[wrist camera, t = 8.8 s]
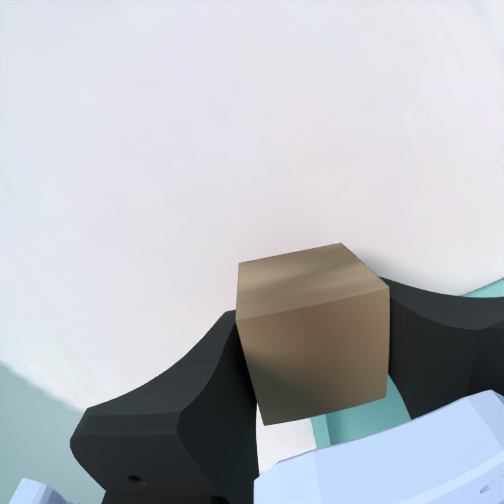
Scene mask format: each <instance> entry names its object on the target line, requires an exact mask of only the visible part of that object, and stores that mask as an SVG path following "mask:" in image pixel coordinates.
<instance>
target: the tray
mask: <svg viewBox="0 0 504 504" xmlns="http://www.w3.org/2000/svg"><path fill="white" fill-rule="evenodd" d="M462 297H504V278H503V279H500V280H498V281H496V282H494V283H491V284H489V285H487V286H484V287H482V288H480V289H477V290H475V291H473V292H470V293H468V294H465V295H463V296H462ZM410 420H411V418H410V416H409V413H408V411H407V409H406V406H405V404H404V402H403V399H402V397H401V395H400V393H399V391H398V390H397V388H396V386H395V384H394V383H393V381H392V380H391V378H390V376H389V375H388V380H387V393H386V398H383V399H380V400H377V401H373V402H370V403H366V404H363V405H359V406H356V407H352V408H348V409H344V410H340V411H336V412H332V413H328V414H324V415H319V416H315V417H311V421H312V426H313V431H314V435H315V440H316V444H317V449H319V448H323V447H327V446H331V445H335V444H339V443H343V442H346V441H350V440H353V439H357V438H360V437H364V436H367V435H370V434H373V433H376V432H379V431H382V430H385V429H388V428H391V427H394V426H397V425H399V424H402V423H405V422H407V421H410Z"/></svg>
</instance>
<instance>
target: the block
mask: <svg viewBox="0 0 504 504" xmlns="http://www.w3.org/2000/svg"><path fill="white" fill-rule="evenodd" d="M235 321H236V325H237V328H238V332H239V336H240V340H241V344H242V348H243V351H244V355H245V359H246V363H247V366H248V370H249V374H250V377H251V381H252V385H253V388H254V392H255V396H256V399H257V403H258V406H259V410H260V413H261V417H262V420H263V424H264V426H266V425H273V424H279V423H284V422H290V421H295V420H300V419H305V418H310V417H315V416H319V415H324V414H328V413H332V412H336V411H340V410H344V409H348V408H352V407H356V406H359V405H363V404H366V403H370V402H373V401H377V400H380V399H383V398H386V393H387V380H388V363H389V335H390V293H389V287H388V286H387V285H386V284H385V283H384V282H383V281H382V280H381V279H380V278H379V277H378V276H377V275H376V274H375V273H374V272H373V271H372V270H370V269H369V268H368V267H367V266H366V265H365V264H364V263H363V262H362V261H361V260H360V259H359V258H357V257H356V256H355V255H354V254H353V253H352V252H351V251H350V250H349V249H348V248H346V247H345V246H344V245H343V244H342V243H337V244H332V245H327V246H322V247H317V248H312V249H307V250H302V251H297V252H292V253H287V254H282V255H277V256H272V257H267V258H262V259H257V260H252V261H247V262H242V263H239V270H238V286H237V302H236V319H235Z"/></svg>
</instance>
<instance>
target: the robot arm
mask: <svg viewBox="0 0 504 504" xmlns="http://www.w3.org/2000/svg"><path fill="white" fill-rule="evenodd" d="M379 278H380V279H381V280H382V281H383V282H384V283H385V284H386V285H387V286H388V287H389V293H390V335H389V363H388V375H389V376H390V378H391V380H392V381H393V383H394V384H395V386H396V388H397V390H398V391H399V393H400V395H401V397H402V399H403V402H404V404H405V406H406V409H407V411H408V413H409V416H410V418H411V420H410V421H407V422H405V423H402V424H399V425H397V426H394V427H391V428H388V429H385V430H382V431H379V432H376V433H373V434H370V435H367V436H364V437H360V438H357V439H353V440H350V441H346V442H343V443H339V444H335V445H331V446H327V447H323V448H319V449H314V450H311V451H308V452H305V453H303V454H300V455H297V456H294V457H291V458H288V459H285V460H282V461H279V462H278V463H276V464H275V465H273V466H272V467H271V468H270V469H269V470H267V471H266V472H265V473H263V474H262V475H261V476H260V477H259V467H258V456H257V442H256V412H257V399H256V396H255V392H254V388H253V385H252V381H251V377H250V374H249V370H248V366H247V363H246V359H245V355H244V351H243V348H242V344H241V340H240V336H239V332H238V328H237V325H236V321H235V319H236V310H232V311H227V312H225V313H224V314H223V315H222V316H221V317H220V318H219V319H218V321H217V322H216V323H215V324H214V325H213V327H212V328H211V329H210V330H209V331H208V332H207V333H206V335H205V336H204V337H203V338H202V339H201V340H200V341H199V342H198V343H197V344H196V345H195V346H194V347H193V348H192V349H191V350H190V351H189V352H188V353H187V354H186V355H185V356H184V357H183V358H181V359H180V360H179V361H178V362H177V363H175V364H174V365H173V366H171V367H170V368H169V369H168V370H166V371H165V372H163V373H162V374H160V375H158V376H157V377H155V378H154V379H152V380H151V381H149V382H148V383H146V384H144V385H142V386H140V387H138V388H137V389H135V390H133V391H131V392H128V393H126V394H124V395H122V396H120V397H117V398H115V399H112V400H110V401H107V402H104V403H101V404H98V405H96V406H93V407H89V408H87V410H86V411H85V413H84V415H83V417H82V419H81V420H80V422H79V424H78V426H77V428H76V429H75V432H74V433H73V435H72V437H71V439H70V448H71V451H72V453H73V455H74V457H75V458H76V460H77V461H78V462H79V464H80V465H81V466H82V467H83V468H84V469H85V470H86V471H87V473H88V474H89V475H90V476H91V477H92V478H93V479H94V480H95V481H96V482H97V483H98V484H99V485H100V486H101V487H102V488H104V490H106V493H105V496H104V498H103V501H102V504H504V297H462V296H453V295H446V294H440V293H434V292H430V291H426V290H422V289H418V288H414V287H411V286H408V285H404V284H401V283H398V282H395V281H392V280H389V279H385V278H382V277H379ZM9 504H78V503H74V502H70V501H66V500H65V499H64V497H63V496H61V495H60V493H58V492H57V491H56V490H55V489H53V488H52V487H50V486H48V485H46V484H44V483H41V482H37V481H34V480H31V479H27V478H23V479H22V481H21V483H20V484H19V486H18V488H17V490H16V492H15V494H14V496H13V497H12V499H11V501H10V503H9Z"/></svg>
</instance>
